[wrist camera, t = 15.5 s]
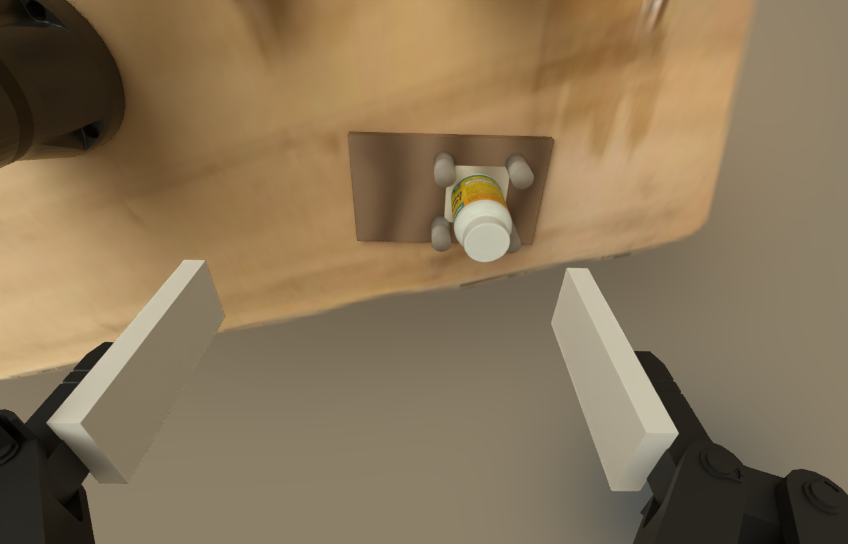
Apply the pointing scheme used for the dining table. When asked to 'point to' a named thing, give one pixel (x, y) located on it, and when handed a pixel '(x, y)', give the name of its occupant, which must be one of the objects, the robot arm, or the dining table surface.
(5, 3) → the robot arm
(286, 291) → the dining table surface
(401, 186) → the pin nest
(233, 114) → the dining table surface
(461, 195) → the supplement bottle
